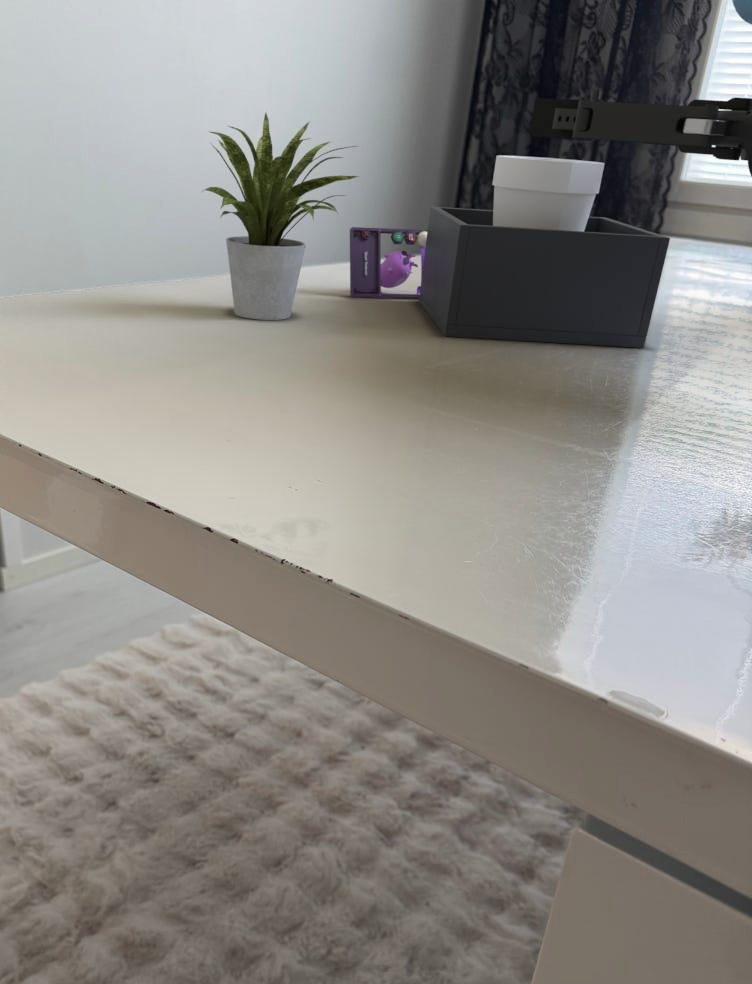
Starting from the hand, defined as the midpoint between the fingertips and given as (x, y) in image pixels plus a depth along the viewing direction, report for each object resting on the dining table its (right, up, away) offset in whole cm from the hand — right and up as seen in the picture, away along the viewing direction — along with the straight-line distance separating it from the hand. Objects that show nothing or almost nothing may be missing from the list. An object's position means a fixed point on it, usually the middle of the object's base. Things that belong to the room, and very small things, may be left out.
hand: (594, 122), depth 80 cm
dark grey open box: (-3, -13, +11) cm, 18 cm away
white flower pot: (-3, -13, +11) cm, 17 cm away
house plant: (-28, -14, +6) cm, 32 cm away
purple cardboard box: (-15, -7, +21) cm, 27 cm away
